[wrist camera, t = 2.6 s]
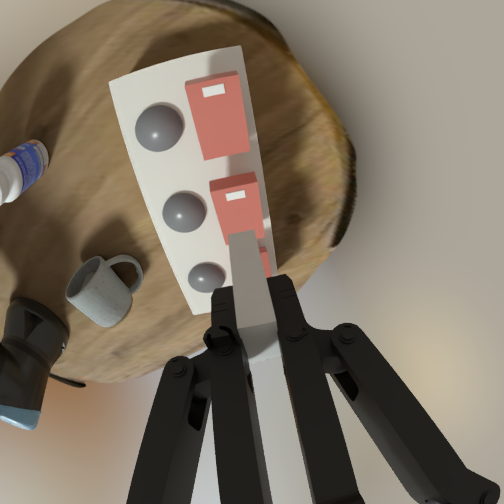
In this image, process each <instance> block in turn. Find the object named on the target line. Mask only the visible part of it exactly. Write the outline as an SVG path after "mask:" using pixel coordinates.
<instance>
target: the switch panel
mask: <svg viewBox="0 0 504 504" xmlns="http://www.w3.org/2000/svg"><path fill="white" fill-rule="evenodd" d="M235 70H236V71H237V73H238V74H239V79H240V85H241V92H242V98H243V104H244V111H245V117H246V124H247V130H248V137H249V144H250V150H251V151H248V152H243V153H238V154H233V155H228V156H223V157H219V158H214V159H210V160H206V161H204V158H203V154H202V151H201V147H200V143H199V139H198V136H197V132H196V128H195V125H194V121H193V117H192V113H191V109H190V106H189V102H188V98H187V94H186V90H185V81H188V80H192V79H196V78H200V77H205V76H209V75H214V74H219V73H224V72H230V71H235ZM109 86H110V90H111V94H112V98H113V102H114V106H115V110H116V113H117V117H118V120H119V124H120V127H121V131H122V134H123V137H124V141H125V144H126V147H127V150H128V153H129V157H130V160H131V163H132V166H133V169H134V172H135V175H136V177H137V180H138V183H139V186H140V189H141V192H142V194H143V197H144V200H145V203H146V205H147V208H148V211H149V213H150V216H151V218H152V221H153V224H154V226H155V229H156V231H157V234H158V236H159V239H160V241H161V243H162V246H163V248H164V251H165V253H166V255H167V258H168V260H169V262H170V265H171V267H172V269H173V272H174V274H175V276H176V278H177V281H178V283H179V285H180V287H181V289H182V292H183V294H184V296H185V298H186V300H187V302H188V304H189V307H190V309H191V311H192V313H193V315H196V314H202V313H207V312H211V296H212V294H213V292H214V289H216V288H221V287H227V286H232V285H233V284H232V274H231V264H230V253H229V245H226V244H225V241H224V237H223V234H222V231H221V227H220V224H219V221H218V218H217V214H216V211H215V207H214V204H213V201H212V197H211V194H210V187H209V181H211V180H215V179H220V178H224V177H229V176H234V175H239V174H244V173H249V172H255V175H256V178H257V181H258V187H259V195H260V202H261V210H262V217H263V225H264V233H265V237H264V238H259V239H257V243H258V247H264V246H265V247H266V249H267V252H268V258H269V263H270V269H271V274H272V277H273V276H278V272H277V265H276V257H275V250H274V243H273V236H272V229H271V222H270V215H269V208H268V201H267V195H266V188H265V182H264V175H263V169H262V163H261V156H260V150H259V144H258V138H257V132H256V126H255V120H254V114H253V108H252V103H251V97H250V91H249V86H248V80H247V75H246V69H245V64H244V59H243V53H242V48H241V45H239V46H233V47H227V48H221V49H216V50H211V51H206V52H201V53H197V54H193V55H188V56H184V57H181V58H177V59H173V60H170V61H166V62H163V63H159V64H156V65H153V66H150V67H147V68H144V69H141V70H138V71H135V72H133V73H130V74H127V75H125V76H122V77H120V78H117V79H115V80H112V81H110V82H109Z"/></svg>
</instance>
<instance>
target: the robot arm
mask: <svg viewBox="0 0 504 504" xmlns="http://www.w3.org/2000/svg"><path fill="white" fill-rule="evenodd" d="M228 242H229V253H230V264H231V274H232V284H233V285H232V286H227V287H221V288H216V289H214V292H213V294H212V296H211V323H212V326H211V327H210V328H209V329H207V331H206V332H205V334H204V337H203V340H204V342H205V344H206V346H207V348H208V349H207V350H206V351H204V352H203V353H202V354H200V355H197V356H195V357H193V358H191V359H189V358H188V357H184V356H176V357H174V358H172V359H170V360H169V361H168V362H167V363H166V365H165V367H164V370H163V373H162V376H161V379H160V382H159V386H158V389H157V392H156V395H155V399H154V402H153V405H152V409H151V412H150V415H149V418H148V422H147V425H146V429H145V433H144V436H143V440H142V443H141V447H140V450H139V455H138V458H137V462H136V466H135V469H134V474H133V477H132V481H131V486H130V490H129V494H128V499H127V503H126V504H190V503H191V498H192V493H193V488H194V483H195V477H196V472H197V467H198V462H199V457H200V452H201V447H202V442H203V437H204V433H205V427H206V423H207V417H208V413H209V408H210V403H212V418H213V431H214V444H215V455H216V466H217V475H218V485H219V493H220V501H221V504H273V503H272V497H271V492H270V486H269V480H268V474H267V468H266V463H265V457H264V450H263V445H262V438H261V432H260V426H259V420H258V414H257V407H256V400H255V394H254V387H253V380H252V374H251V371H250V368H249V363H253V362H258V361H263V360H268V359H273V358H278V357H282V362H283V368H284V375H285V377H286V382H287V385H288V391H289V395H290V400H291V404H292V409H293V414H294V418H295V423H296V427H297V432H298V436H299V441H300V445H301V450H302V455H303V460H304V464H305V469H306V474H307V478H308V483H309V488H310V492H311V497H312V502H313V504H365V502H364V500H363V498H362V496H361V495H360V493H359V490H358V487H357V483H356V479H355V475H354V472H353V468H352V464H351V461H350V457H349V454H348V450H347V447H346V442H345V439H344V435H343V432H342V428H341V425H340V422H339V419H338V415H337V411H336V408H335V405H334V401H333V398H332V395H331V391H330V388H329V385H328V382H327V379H326V375H325V373H329V374H330V376H331V377H332V379H333V380H334V382H335V383H336V385H337V386H338V388H339V389H340V391H341V392H342V394H343V395H344V397H345V398H346V400H347V401H348V403H349V404H350V406H351V407H352V409H353V411H354V412H355V414H356V415H357V417H358V418H359V420H360V421H361V423H362V424H363V426H364V427H365V429H366V430H367V432H368V433H369V435H370V436H371V438H372V439H373V441H374V443H375V444H376V445H377V447H378V449H379V450H380V452H381V453H382V455H383V456H384V458H385V459H386V461H387V462H388V464H389V465H390V467H391V468H392V470H393V471H394V473H395V474H396V476H397V477H398V479H399V480H400V482H401V483H402V484H403V486H404V488H405V489H406V491H407V492H408V493H409V495H410V496H411V497H412V498H413V499H414V500H415V501H417V502H418V503H419V504H497V502H498V500H499V497H500V487H499V486H498V485H497V484H496V483H495V482H492V481H490V480H488V479H486V478H484V477H482V476H480V475H478V474H476V473H475V472H472V471H471V470H469V469H467V468H466V467H465V465H464V464H463V462H462V461H461V459H460V458H459V457H458V455H457V454H456V452H455V451H454V449H453V448H452V447H451V445H450V444H449V442H448V441H447V439H446V438H445V437H444V435H443V434H442V433H441V431H440V430H439V428H438V427H437V426H436V424H435V423H434V422H433V420H432V419H431V418H430V416H429V415H428V414H427V412H426V411H425V410H424V408H423V407H422V406H421V404H420V403H419V402H418V400H417V399H416V398H415V396H414V395H413V394H412V392H411V391H410V390H409V389H408V387H407V386H406V385H405V383H404V382H403V381H402V380H401V378H400V377H399V376H398V375H397V373H396V372H395V371H394V370H393V368H392V367H391V366H390V364H389V363H388V362H387V361H386V359H385V358H384V357H383V356H382V354H381V353H380V352H379V351H378V349H377V348H376V347H375V346H374V344H373V343H372V342H371V341H370V339H369V338H368V337H367V336H366V335H365V333H364V332H363V331H362V330H361V329H360V328H359V327H358V326H357V325H355V324H352V323H343V324H340V325H338V326H336V327H335V328H334V329H333V330H320V329H316V328H313V327H311V326H310V325H309V324H308V323H307V322H306V320H305V318H304V315H303V312H302V309H301V306H300V303H299V300H298V297H297V294H296V291H295V288H294V285H293V282H292V280H291V279H290V278H289V277H288V276H287V275H286V274H283V275H278V276H273V277H268V278H266V276H265V272H264V268H263V264H262V259H261V255H260V251H259V247H258V243H257V239H256V235H255V231H254V229H253V230H248V231H243V232H238V233H233V234H228ZM68 340H69V335H68V332H67V330H66V328H65V326H64V325H63V323H62V322H61V321H60V320H59V319H58V318H57V317H56V316H55V315H54V314H53V313H52V312H51V311H50V310H48V309H47V308H45V307H44V306H42V305H41V304H39V303H37V302H35V301H32V300H30V299H26V298H16V299H14V300H13V301H12V302H11V304H10V306H9V307H8V309H7V313H6V319H5V327H4V335H3V339H2V341H1V343H0V419H1V420H3V421H5V422H7V423H9V424H12V425H14V426H17V427H20V428H23V429H27V430H33V429H35V428H36V427H37V424H38V420H39V417H40V414H41V407H42V402H43V398H44V393H45V389H46V385H47V381H48V377H49V374H50V370H51V368H52V366H53V365H54V363H55V362H56V361H57V359H58V358H59V357H60V356H61V354H62V353H63V352H64V350H65V349H66V346H67V343H68Z"/></svg>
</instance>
